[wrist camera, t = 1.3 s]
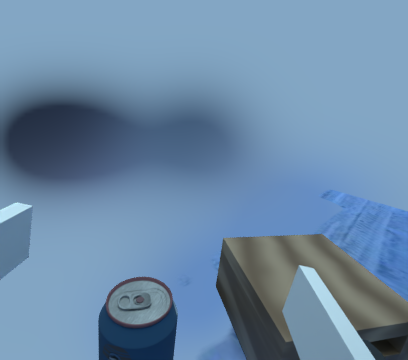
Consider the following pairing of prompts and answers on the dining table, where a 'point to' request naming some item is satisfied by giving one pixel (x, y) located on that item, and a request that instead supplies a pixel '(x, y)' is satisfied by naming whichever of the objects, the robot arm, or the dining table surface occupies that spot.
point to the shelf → (280, 286)
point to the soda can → (138, 321)
